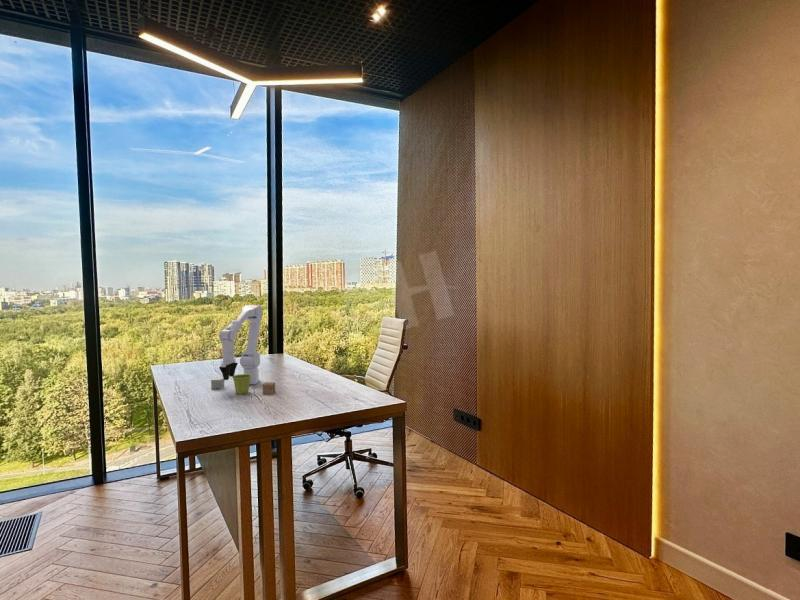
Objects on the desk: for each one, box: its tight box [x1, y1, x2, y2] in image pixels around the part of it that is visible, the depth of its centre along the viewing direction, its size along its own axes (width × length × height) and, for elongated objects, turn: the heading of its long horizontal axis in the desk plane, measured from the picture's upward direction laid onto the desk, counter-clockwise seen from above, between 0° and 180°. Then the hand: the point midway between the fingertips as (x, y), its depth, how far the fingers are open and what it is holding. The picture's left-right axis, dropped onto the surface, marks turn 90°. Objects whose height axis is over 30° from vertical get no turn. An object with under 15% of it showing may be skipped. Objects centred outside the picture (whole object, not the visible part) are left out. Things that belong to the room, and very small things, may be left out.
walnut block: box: [262, 381, 276, 394], centre depth 235 cm, size 5×5×5 cm
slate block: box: [210, 377, 225, 390], centre depth 246 cm, size 5×5×5 cm
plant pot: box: [232, 373, 251, 395], centre depth 235 cm, size 9×9×9 cm
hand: (229, 378), depth 238 cm, fingers open, 7 cm apart
